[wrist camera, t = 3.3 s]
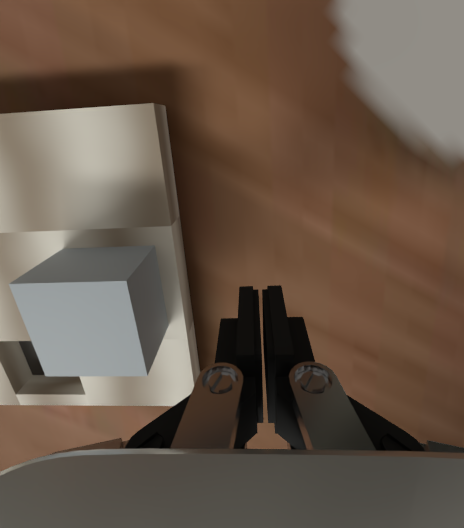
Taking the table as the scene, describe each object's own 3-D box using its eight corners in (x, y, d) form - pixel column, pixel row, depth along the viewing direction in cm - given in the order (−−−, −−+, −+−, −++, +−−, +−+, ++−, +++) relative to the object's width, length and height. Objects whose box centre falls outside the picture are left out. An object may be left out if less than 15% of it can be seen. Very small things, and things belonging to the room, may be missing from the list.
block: (154, 245, 16) (126, 281, 12) (168, 325, 18) (147, 376, 14) (62, 248, 16) (8, 283, 13) (86, 326, 18) (45, 376, 15)
